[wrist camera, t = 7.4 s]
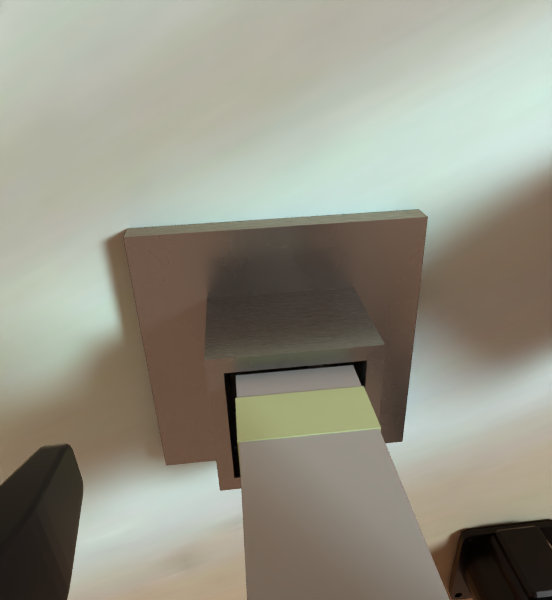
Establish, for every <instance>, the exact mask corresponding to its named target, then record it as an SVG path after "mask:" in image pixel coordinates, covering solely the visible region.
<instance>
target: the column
mask: <svg viewBox="0 0 552 600" xmlns="http://www.w3.org/2000/svg"><path fill="white" fill-rule="evenodd" d="M236 390H237V398H235V402H236V423H237V443H238V454H239V464H240V475H241V488H242V508H243V528H244V547H245V567H246V587H247V600H450V599H449V597H448V595H447V592H446V590H445V587H444V585H443V582H442V580H441V578H440V575H439V573H438V570H437V568H436V565H435V563H434V561H433V558H432V556H431V553H430V551H429V548H428V546H427V544H426V541H425V539H424V536H423V534H422V531H421V529H420V527H419V524H418V522H417V519H416V517H415V514H414V512H413V510H412V507H411V505H410V502H409V500H408V497H407V495H406V493H405V490H404V488H403V485H402V483H401V480H400V478H399V476H398V473H397V471H396V468H395V466H394V463H393V461H392V459H391V456H390V454H389V451H388V449H387V446H386V444H385V442H384V439H383V437H382V434H381V426H380V424H379V421H378V419H377V417H376V414H375V412H374V409H373V407H372V405H371V402H370V400H369V398H368V395H367V393H366V390H365V388H364V386H361V383H360V381H359V378H358V376H357V374H356V371H355V369H354V366H353V365H348V366H337V367H326V368H314V369H303V370H292V371H281V372H269V373H258V374H247V375H236Z"/></svg>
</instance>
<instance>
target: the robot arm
mask: <svg viewBox="0 0 552 600" xmlns="http://www.w3.org/2000/svg"><path fill="white" fill-rule="evenodd" d="M82 498H83V481H82V477H81V474H80V471H79V468H78V465H77V462H76V458H75V455H74V452H73V450H72V448H71V446H70V445H68V444H56V445H47V446H43V447H41V448H40V449H38V450H37V451H36V452H35V453H34V454H33V455H32V456H31V457H30V458H29V459H28V460H27V461H26V462H24V463H23V464H22V465H21V466H20V467H19V468H18V469H17V470H16V471H15V472H14V473H13V474H12V475H11V476H10V477H9V478H8V479H7V480H6V481H4V482H3V483H2V484H1V485H0V600H67V598H68V593H69V588H70V582H71V576H72V569H73V562H74V555H75V547H76V540H77V533H78V526H79V519H80V512H81V505H82ZM449 594H450V596H451V598H452V599H454V600H458V599H466V598H472V599H473V600H552V520H551V521H542V522H534V523H525V524H516V525H508V526H499V527H490V528H482V529H473V530H467V531H464V532H463V533H462V534H461V535H460V538H459V543H458V548H457V553H456V557H455V562H454V567H453V572H452V576H451V581H450V586H449Z"/></svg>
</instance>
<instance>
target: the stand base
mask: <svg viewBox="0 0 552 600" xmlns="http://www.w3.org/2000/svg"><path fill="white" fill-rule="evenodd" d="M427 219H428V217H427V216H426V215H425V214H424V213H423V212H421V211H420V210H419V209H417V210H402V211H387V212H371V213H356V214H341V215H326V216H311V217H295V218H280V219H265V220H250V221H235V222H219V223H204V224H189V225H174V226H159V227H143V228H128V229H127V231H126V233H125V235H124V237H123V238H124V244H125V249H126V254H127V260H128V265H129V270H130V275H131V281H132V286H133V291H134V297H135V302H136V307H137V313H138V318H139V323H140V328H141V334H142V339H143V344H144V350H145V355H146V360H147V366H148V371H149V376H150V381H151V387H152V392H153V397H154V403H155V408H156V413H157V419H158V424H159V429H160V434H161V440H162V445H163V450H164V456H165V461H166V465H174V464H184V463H194V462H204V461H214V460H216V461H217V469H218V478H219V486H220V490H230V489H239V488H241V475H240V464H239V454H238V443H237V423H236V402H235V398H237V390H236V375H247V374H258V373H269V372H281V371H292V370H303V369H314V368H326V367H337V366H348V365H353V366H354V369H355V371H356V374H357V376H358V378H359V381H360V383H361V386H364V388H365V390H366V393H367V395H368V398H369V400H370V402H371V405H372V407H373V409H374V412H375V414H376V417H377V419H378V421H379V424H380V426H381V434H382V437H383V439H384V442H385V443H392V442H402V440H403V431H404V422H405V413H406V404H407V396H408V387H409V378H410V369H411V360H412V351H413V343H414V334H415V325H416V316H417V307H418V298H419V290H420V281H421V272H422V263H423V254H424V245H425V236H426V228H427Z"/></svg>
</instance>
